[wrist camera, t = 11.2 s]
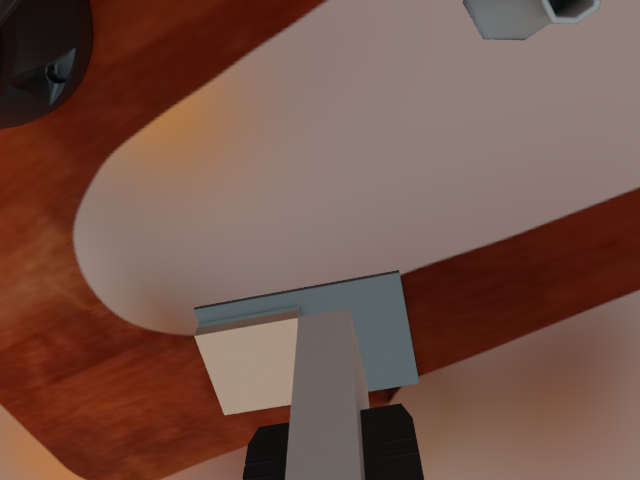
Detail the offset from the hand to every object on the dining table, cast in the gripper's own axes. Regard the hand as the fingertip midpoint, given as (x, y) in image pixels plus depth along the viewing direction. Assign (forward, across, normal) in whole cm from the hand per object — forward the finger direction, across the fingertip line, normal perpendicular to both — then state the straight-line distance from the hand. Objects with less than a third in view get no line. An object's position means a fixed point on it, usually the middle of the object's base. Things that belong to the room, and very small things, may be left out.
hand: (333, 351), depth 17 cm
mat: (+28, -6, -20) cm, 35 cm away
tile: (+27, -6, -20) cm, 34 cm away
